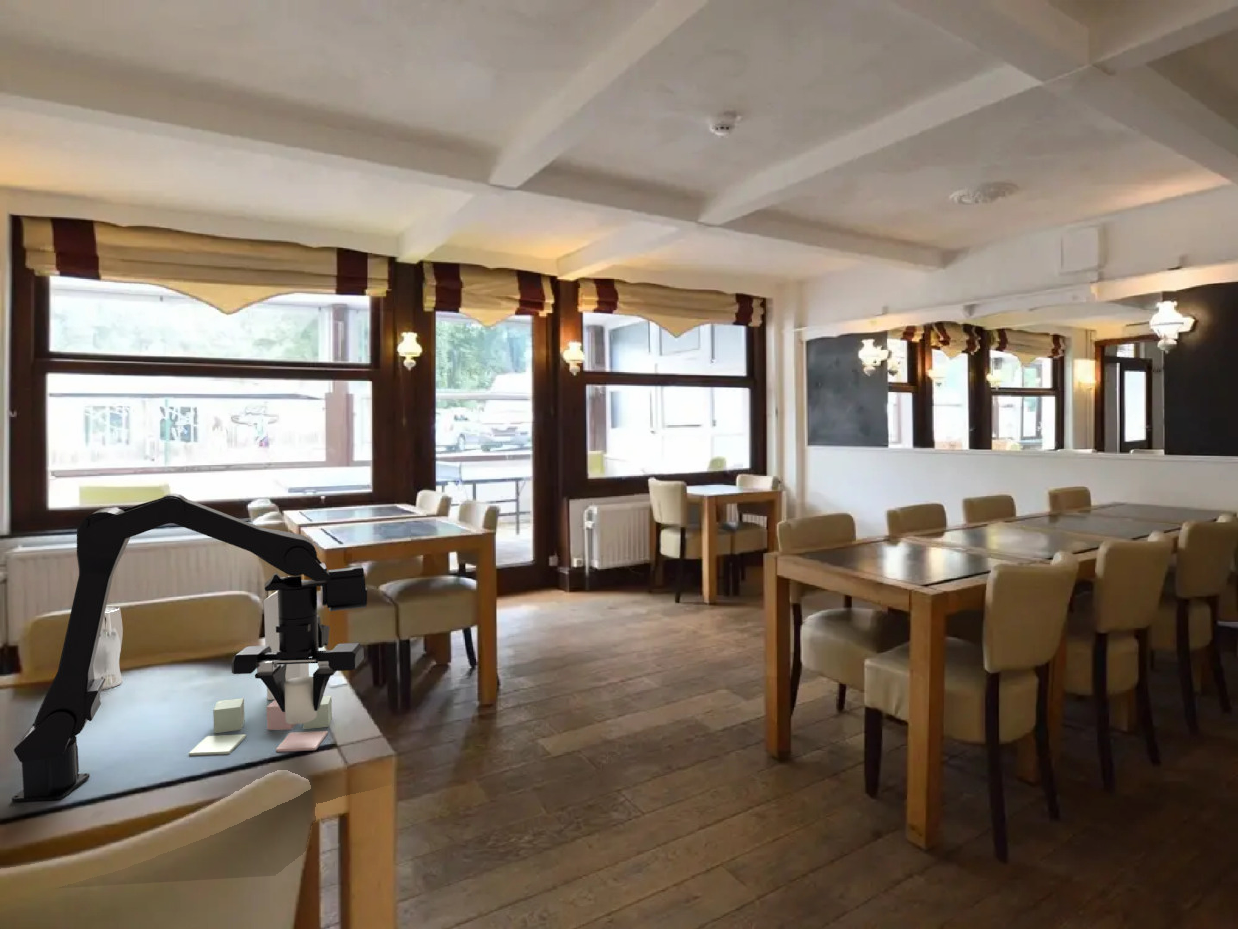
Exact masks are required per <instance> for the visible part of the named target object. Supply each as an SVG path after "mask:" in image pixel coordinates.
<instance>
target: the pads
mask: <svg viewBox="0 0 1238 929" xmlns="http://www.w3.org/2000/svg"><path fill="white" fill-rule="evenodd" d="M328 732H329V731H328V730H323V731H322V730H321V731H302V732H301V731H300V732H299V731H295V732H289V733H288V734H287V735H286V737H285V738H284V739H283V740H282V741H281V743H280V744H279V745H278V746H277V747H276V748H275V752H300V751H301V752H302V751H303V752H304V751H316V750H317V749H318V748H319V746H320V745H321V743H322V742H323V740H324V739H325V737H326V736H327V735H328ZM246 737H247V734H226V735H224V734H223V735H207V736H205V737H204V738H203V740H201V741H200V742H199V743H198V744H197V745H196V746H195V747H194V748H192V749H191V750H190V752H188V756H205V755H206V756H209V755H210V756H211V755H230V754H231V753H232V752H233V751H234V749H235V748H237V747H238V745H240V743H242V741H244V740H245V738H246Z"/></svg>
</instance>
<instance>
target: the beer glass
mask: <svg viewBox="0 0 1238 929" xmlns="http://www.w3.org/2000/svg"><path fill="white" fill-rule="evenodd" d="M123 632H124V628H123V619H122V612H121V607H120V605H119V606H118V605H106V610H105V614H104V619H103V623H102V628H101V632H100V637H99V641H98V646H97V651H96V655H95V660H94V664H93V671H94V679H103V678H105V682H104V684H103V687H102V689H101V691H104V690H109V689H112V688H114V687H115V688H116V687H117V686H119V685H121V684H122V683H123V676H122V674H121V669H120V657H121V650H122V644H123V634H124V633H123Z"/></svg>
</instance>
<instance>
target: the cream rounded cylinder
mask: <svg viewBox="0 0 1238 929" xmlns="http://www.w3.org/2000/svg"><path fill="white" fill-rule="evenodd" d="M284 690H285V721H286V722H287V723H290V724H296V725H301V724H303V723H306V722H309V721H311V720H313V719H315V718H316V717H317V711H315V710H314V705H313V676H310V675H309V676H302V677H296V678H292V679H289V680H287V681H286V682H285V683H284Z"/></svg>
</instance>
